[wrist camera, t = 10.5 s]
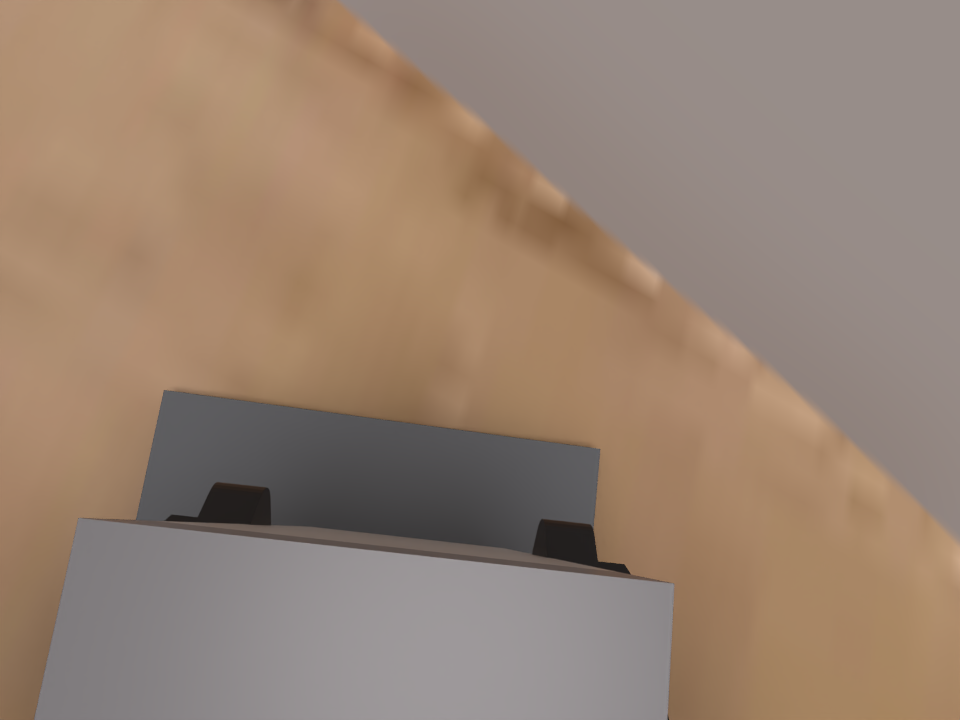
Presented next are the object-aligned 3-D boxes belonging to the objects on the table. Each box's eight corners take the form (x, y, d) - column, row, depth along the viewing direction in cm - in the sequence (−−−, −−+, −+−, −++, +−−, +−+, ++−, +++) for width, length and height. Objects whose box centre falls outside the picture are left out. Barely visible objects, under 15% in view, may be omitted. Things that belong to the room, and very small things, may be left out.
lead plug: (277, 737, 15) (-86, 1265, 4) (309, 526, 16) (77, 518, 5) (483, 757, 15) (636, 1313, 4) (504, 548, 16) (673, 584, 5)
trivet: (68, 877, 16) (56, 890, 15) (171, 394, 18) (164, 389, 17) (552, 919, 16) (558, 933, 16) (594, 451, 19) (600, 449, 18)
